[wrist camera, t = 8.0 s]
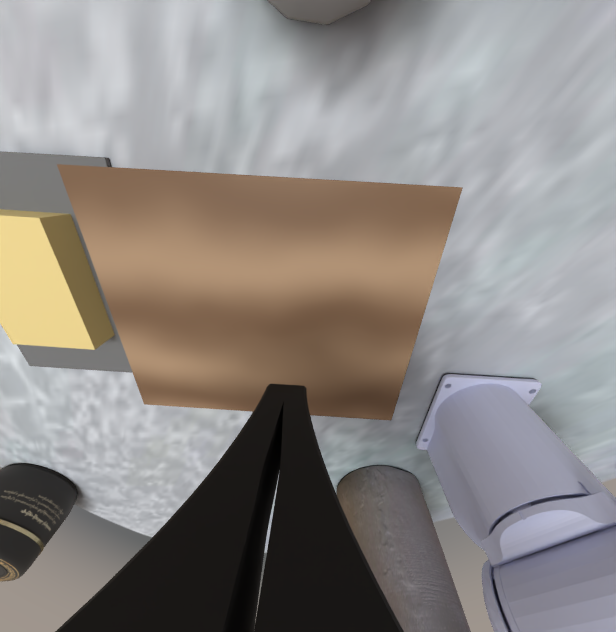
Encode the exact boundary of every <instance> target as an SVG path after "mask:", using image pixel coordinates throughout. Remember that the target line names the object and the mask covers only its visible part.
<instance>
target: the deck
mask: <svg viewBox="0 0 616 632" xmlns="http://www.w3.org/2000/svg"><path fill="white" fill-rule="evenodd" d="M57 167H58V169H59V172H60V175H61V177H62V180H63V183H64V186H65V188H66V191H67V194H68V197H69V199H70V202H71V205H72V208H73V210H74V213H75V216H76V219H77V221H78V224H79V227H80V229H81V232H82V235H83V238H84V240H85V243H86V246H87V249H88V251H89V254H90V257H91V260H92V262H93V265H94V268H95V271H96V273H97V276H98V279H99V282H100V284H101V287H102V290H103V292H104V295H105V298H106V301H107V303H108V306H109V309H110V312H111V314H112V317H113V320H114V323H115V325H116V328H117V331H118V334H119V336H120V339H121V342H122V344H123V347H124V350H125V353H126V355H127V358H128V361H129V364H130V366H131V369H132V372H133V375H134V377H135V380H136V383H137V386H138V388H139V391H140V394H141V396H142V399H143V402H144V404H148V405H163V406H179V407H194V408H209V409H225V410H240V411H254V410H255V408H256V407H257V405H258V403H259V401H260V400H261V398H262V396H263V394H264V392H265V390H266V388H267V386H268V385H269V384H286V385H301V386H305V387H306V388H307V402H308V408H309V413H310V415H317V416H332V417H348V418H363V419H379V420H391V419H392V416H393V413H394V410H395V406H396V403H397V400H398V397H399V393H400V390H401V387H402V384H403V380H404V377H405V374H406V371H407V367H408V364H409V361H410V357H411V354H412V351H413V348H414V344H415V341H416V338H417V335H418V331H419V328H420V325H421V322H422V318H423V315H424V312H425V309H426V305H427V302H428V299H429V296H430V292H431V289H432V286H433V282H434V279H435V276H436V273H437V269H438V266H439V263H440V260H441V256H442V253H443V250H444V247H445V243H446V240H447V237H448V234H449V230H450V227H451V224H452V221H453V217H454V214H455V211H456V207H457V204H458V201H459V198H460V194H461V191H462V188H461V187H444V186H426V185H409V184H392V183H374V182H357V181H340V180H322V179H305V178H288V177H270V176H253V175H236V174H218V173H201V172H184V171H166V170H149V169H132V168H114V167H97V166H80V165H62V164H57Z"/></svg>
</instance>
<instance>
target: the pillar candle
mask: <svg viewBox="0 0 616 632" xmlns="http://www.w3.org/2000/svg"><path fill="white" fill-rule="evenodd" d="M337 497H338V500H339V502H340V504H341V507H342V509H343V511H344V513H345V516H346V518H347V520H348V522H349V525H350V527H351V529H352V531H353V533H354V535H355V537H356V539H357V542H358V544H359V546H360V548H361V550H362V552H363V554H364V556H365V558H366V560H367V562H368V564H369V566H370V568H371V570H372V572H373V574H374V576H375V578H376V580H377V582H378V584H379V586H380V588H381V590H382V592H383V593H384V595H385V597H386V599H387V601H388V603H389V605H390V607H391V609H392V610H393V612H394V614H395V616H396V618H397V620H398V622H399V623H400V625H401V627H402V629H403V631H404V632H471V631H470V628H469V626H468V623H467V620H466V617H465V614H464V611H463V608H462V605H461V602H460V599H459V597H458V594H457V591H456V588H455V585H454V582H453V579H452V576H451V573H450V570H449V567H448V565H447V562H446V559H445V556H444V553H443V550H442V547H441V545H440V542H439V539H438V536H437V533H436V530H435V527H434V525H433V521H432V519H431V516H430V513H429V510H428V508H427V505H426V502H425V499H424V496H423V493H422V490H421V488H420V485H419V483H418V480H417V479H416V477H415V476H414V475H413V474H411V473H409V472H405V471H402V470H399V469H396V468H393V467H389V466H382V465H381V466H378V465H377V466H369V467H365V468H360V469H358V470H356V471H353V472H351V473H349V474H348V475H346V476H345V477H344V478H343V479H342V480H341V482H340V483H339V485H338V487H337Z"/></svg>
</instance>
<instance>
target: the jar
mask: <svg viewBox="0 0 616 632" xmlns="http://www.w3.org/2000/svg"><path fill="white" fill-rule="evenodd" d="M76 499H77V489H76V487H75V486H74V484H73V483H72V482H71V481H70V480H68V479H67V478H66V477H64V476H63V475H61V474H59V473H57V472H55V471H53V470H50V469H47V468H45V467H41V466H37V465H32V464H14V465H10V466H8V467H4V468H2V469H1V470H0V581H11V580H15V579H17V578H19V577H21V576H22V575H23V574H24V573H25V572H26V571H27V569H29V567H30V566H31V565H32V563H33V562H34V561H35V559H36V558H37V557H38V556H39V555H40V554H41V552H42V551H43V549H44V547H45V546H46V544H47V543H48V542H49V540H50V539H51V538H52V536H53V535H54V534H55V532H56V531H57V530H58V528H59V527H60V526H61V524H62V523H63V522H64V520H65V519H66V517H67V516H68V515H69V513H70V511H71V509H72V507H73V505H74V503H75V501H76Z"/></svg>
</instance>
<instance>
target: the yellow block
mask: <svg viewBox="0 0 616 632" xmlns="http://www.w3.org/2000/svg"><path fill="white" fill-rule="evenodd" d="M0 323H1V325H2V327H3V328H4V330H5V332H6V333H7V335H8V337H9V338H10V340H11V342H12V343H13V344H19V345H34V346H48V347H62V348H76V349H91V350H95V349H97V348H98V347H99V346H101V345H102V344H103V343H105V342H106V341H107V340H109V339H110V338H111V337H113V336H114V335H115V334H114V332H113V329H112V326H111V323H110V321H109V318H108V315H107V312H106V310H105V307H104V304H103V301H102V299H101V296H100V293H99V290H98V288H97V285H96V282H95V280H94V277H93V274H92V271H91V269H90V266H89V263H88V260H87V258H86V255H85V252H84V249H83V247H82V244H81V241H80V238H79V236H78V233H77V230H76V228H75V225H74V222H73V219H72V217H71V214H63V213H49V212H34V211H19V210H5V209H0Z"/></svg>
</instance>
